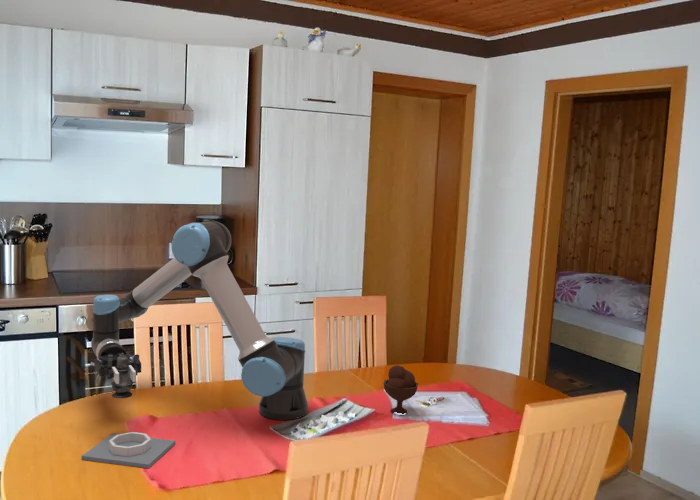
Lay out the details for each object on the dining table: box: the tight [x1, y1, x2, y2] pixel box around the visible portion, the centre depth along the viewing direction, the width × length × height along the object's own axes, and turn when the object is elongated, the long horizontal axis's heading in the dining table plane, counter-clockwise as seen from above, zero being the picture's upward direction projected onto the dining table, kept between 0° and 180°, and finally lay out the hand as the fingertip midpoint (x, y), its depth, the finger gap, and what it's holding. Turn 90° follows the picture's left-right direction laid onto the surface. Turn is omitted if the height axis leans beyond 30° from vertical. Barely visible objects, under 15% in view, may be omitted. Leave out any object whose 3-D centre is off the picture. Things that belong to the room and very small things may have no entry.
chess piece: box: [110, 352, 135, 399], centre depth 179 cm, size 6×6×12 cm
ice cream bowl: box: [383, 364, 419, 415], centre depth 207 cm, size 11×11×15 cm
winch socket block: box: [81, 431, 176, 469], centre depth 170 cm, size 18×15×3 cm
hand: (126, 377), depth 174 cm, fingers closed on chess piece, 4 cm apart
